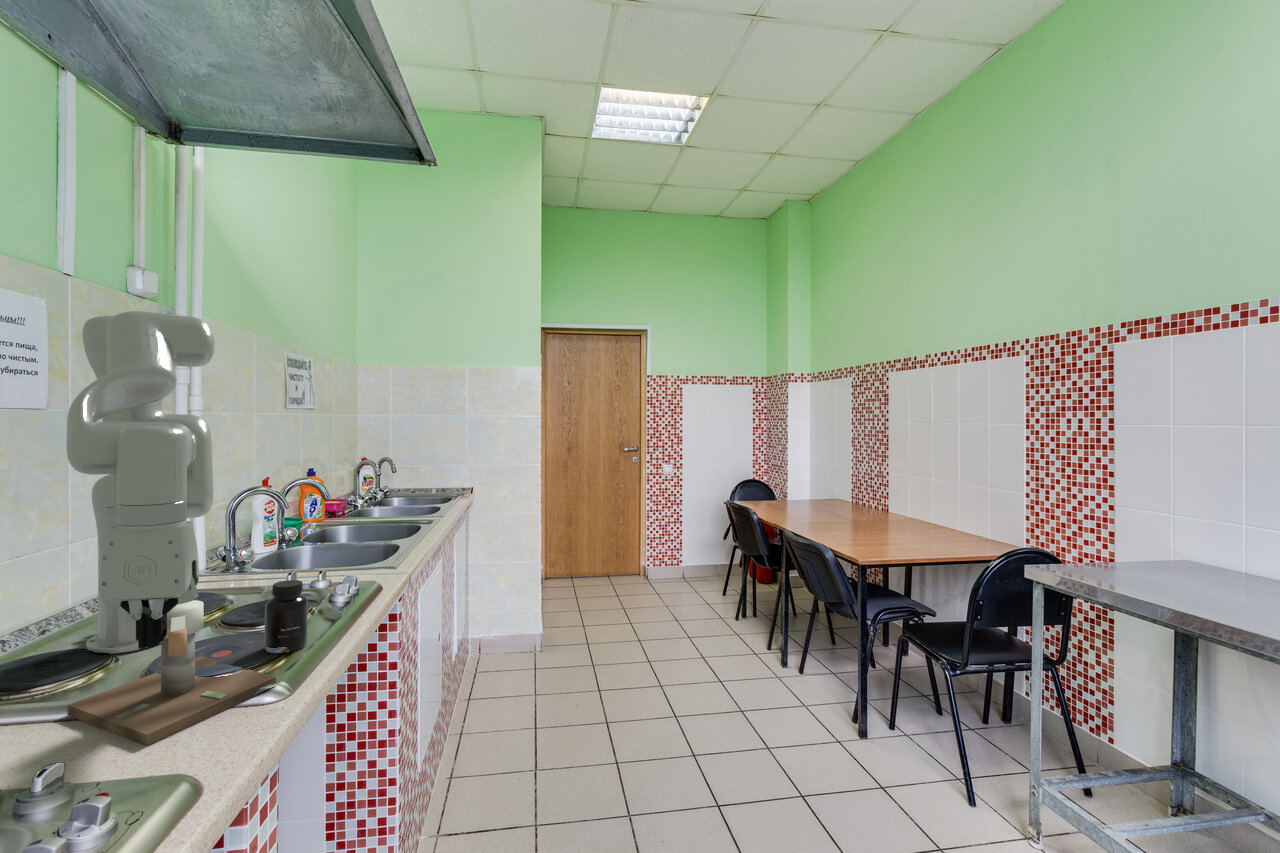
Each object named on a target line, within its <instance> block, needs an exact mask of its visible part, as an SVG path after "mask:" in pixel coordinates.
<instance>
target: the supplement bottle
mask: <svg viewBox="0 0 1280 853" xmlns="http://www.w3.org/2000/svg"><path fill="white" fill-rule="evenodd" d="M303 585H304V584H303V581H302V580H299V579H298V580H297V579H287V580H281V581H277V582H275V583H273V584H272V589H271V590H272V591H271V596H272V597H271V598H270V599H269V600H268V601H267V602H266V604H265V607H264V630H263V631H264V632H263V634H264V635H263V637H264V639H263V647H264V646H265V647H269V648H278V647H287V648H288V649H289V651H290V653H293V652H296V651H299V650H301V649H302V648H304V647H305V646H306V644H307V642H308V641H307V640H308V637H307V636H308V618H309V616H308V615H309V614H308V612H309V600H308V598H307V596H305V595H304V594H302V593H303V592H304V588H303Z"/></svg>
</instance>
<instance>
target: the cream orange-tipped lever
mask: <svg viewBox="0 0 1280 853" xmlns="http://www.w3.org/2000/svg"><path fill="white" fill-rule="evenodd" d="M204 612H205V611H204V602H203V601H201V600H198V599H195V600H193V601H191V602H187V603H183V604H178V605H176V606H175V607H174V608H173V609H172V610H171V611H170V612H168V613H167V635H166V637H165V638H168V656H180V655H183V654H185V653H186V652H187V635H189V634H193V633H195V634H196V633H198V632H199V631H201V630H202V629H203V628H204V614H205V613H204Z"/></svg>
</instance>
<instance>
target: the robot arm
mask: <svg viewBox="0 0 1280 853" xmlns="http://www.w3.org/2000/svg"><path fill="white" fill-rule="evenodd" d="M81 335H82V344H83V349H84V352H85V355H86V358H87V360H88V363H89V365H90V367H91V369H92V371H93V373H94V375H95V377H96V379H95V380H94V381H93V382H91V383H90V384H89V385H87V386H86V387H85V388H84V389H83V390H81V391H80V392H79V393H78V395H76V397H75V398H73V401H72V403H71V405H70V406H69V409H68V412H67V418H66V444H65V445H66V455H67V461H68V463H69V464H70V466H71V468H73V470H75V471H77V472H79V473H80V474H84V475H85V474H86V475H90V476H91V475H94V476H95V475H96V476H97V475H104V476H102V477H101V478H99V479H98V480H97V481H96V482H95V483H94V484H93V486H92V490H91V502H92V509H93V514H94V519H95V524H96V532H97V552H98V553H97V556H98V557H97V565H98V566H97V568H98V569H97V617H96V618H95V619H94V621H93V623H94V624H95V625H97V633H96V634H95V635H92V637H90V638H88V640H86V642H85V650H86V649H88V650H97V651H102V652H106V653H109V654H108V655H110V654H112V655H114V654H122V653H128V652H129V653H130V652H136V651H140V650H143V649H153V648H155V647H156V646H157V645H160V644H161V642H162V641H163V640H164V638H165V637H166V635H167V613H168V612H170V611H171V610H172V609H173V608H174V607H175V606H176V605H178V604H183V603H187V602H191V601H193V600H197V599H198V597H199V593H198V590H197V585H198V583H199V578H200V567H199V566H200V564H199V552H198V542H197V538H196V534H195V529H194V525H193V523H192V522H193V521H191V520H190V521H188V520H187V519H193V518H194V519H195V518H200V517H204V516H205V515H207V514H208V513H209V512H210V511H211V509H212V508H213V502H214V477H213V476H214V475H213V474H214V471H213V448H212V447H213V446H212V445H213V444H212V434H211V429H210V427H209V424H208V423H207V421H206V420H205V419H204V418H203V417H201V416H198V415H195V414H194V415H193V414H180V413H179V414H178V413H177V414H175V413H173V414H170V413H164V411H163V399H165V398H166V397H168V396H170V395H171V394H172V393H173V392H174V390H175V388H176V386H177V379H178V378H177V374H176V368H175V367H188V368H189V367H190V368H191V367H192V368H195V367H196V368H197V367H202V366H205V365H206V366H207V365H208V364H209V362H211V361H212V358H213V356H214V352H215V347H216V346H215V344H216V343H215V337H214V333H213V330H212V329H211V327H210V325H209V324H208V323H207V322H206V321H205V320H204V319H201V318H199V317H194V316H188V315H178V314H168V313H158V312H151V311H138V310H137V311H135V310H134V311H133V310H131V311H123V312H120V313H118V314H115V315H100V316H99V315H98V316H95V317H91V318H88V320H86V322H85V323H84V325H83V327H82V334H81ZM100 420H102V421H100ZM88 650H87V651H88Z"/></svg>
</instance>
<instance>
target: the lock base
mask: <svg viewBox="0 0 1280 853" xmlns="http://www.w3.org/2000/svg"><path fill="white" fill-rule="evenodd" d="M160 644H161V645H160V647H161V650H160V652H161V654H160V671H157V672H154V673H152V674H148V675H146V676H144V677H141V678H139V679H138V678H137V679H135V680H133V681H130V682H127V683H124V684H122V685H119V686H116V687H114V688H110V689H108V690H105V691H102V692H100V693H99V692H98V693H97V694H94V695H92V696H88V697H86V698H83V699H80V700H77V701H75V702H72V703H70V704H67V716H68V717H71V718H74V719H76V720H78V721H81V722H84V723H85V724H86V723H87V724H88V725H92V726H94V727H97V728H99V729H102V730H105V731H107V732H109V733H113V734H116V735H118V736H120V737H123V738H125V739H128V740H130V741H133V742H136V743H138V744H141V745H143V746H147V747H148V746H149V745H152V744H154V743H156V742H158V741H160V740H164V739H165V738H167V737H169V736H172V735H173V734H176V733H179V732H180V731H183V730H184V729H187V728H189V727H190V726H193V725H195V724H197V723H200V722H203V721H204V720H206V719H208V718H210V717H213V716H214V715H216V714H219V713H222V712H223V711H225V710H227V709H230V708H232V707H234V706H236V705H238V704H240V703H243V702H245V701H247V700H249V699H251V698H253V696H254V695H255V694H256V692H257V691H258V690H259V689H260V688H262V687H265V686H267V685H270V684H273V683H276V684H277V678H276V676H273V675H270V674H267V673H263V672H258V671H255V670H252V669H248V668H247V669H248V670H245V671H242V672H240V673H237V674H234V675H228V676H220V677H198V676H195V671H196V670H197V669H198V668H200V667H201V666H206V667H207V666H212V665H215V664H217V663H216V662H217V661H218V660H217V659H213V658H210V657H206V656H203V655H201V656H198V657H196V632H195V633H193V634H189V635H187V652H186V653H185V654H183V655H180V656H168V638H164V640H163V641H162V642H161V643H160ZM158 672H161V674H158ZM254 697H255V696H254Z"/></svg>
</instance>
